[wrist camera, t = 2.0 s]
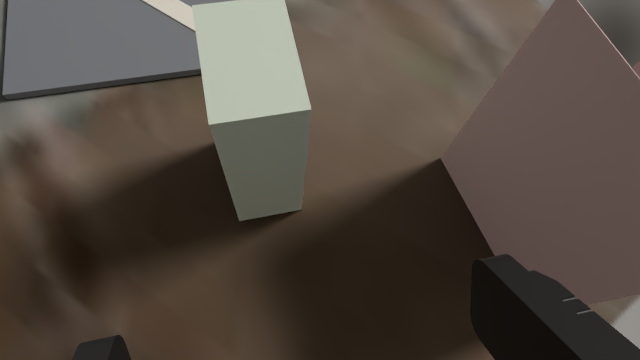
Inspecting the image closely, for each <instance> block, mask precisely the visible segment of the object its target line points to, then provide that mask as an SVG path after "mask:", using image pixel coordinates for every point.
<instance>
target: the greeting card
mask: <svg viewBox="0 0 640 360" xmlns="http://www.w3.org/2000/svg"><path fill="white" fill-rule="evenodd" d="M441 160H442V162H443V164H444V166H445V167H446V169H447V171H448V173H449V175H450V176H451V178H452V180H453V182H454V184H455V185H456V187H457V189H458V191H459V193H460V194H461V196H462V198H463V200H464V201H465V203H466V205H467V207H468V209H469V210H470V212H471V214H472V216H473V218H474V219H475V221H476V223H477V225H478V227H479V228H480V230H481V232H482V234H483V236H484V237H485V239H486V241H487V243H488V245H489V246H490V248H491V250H492V252H493V254H494V255H495V256H497V255H502V254H508V255H510V256H512V257H513V258H514V259H515V260H516V261H518V262H519V263H520V264H521V265H522V266H523V267H524V268H526V269H527V270H528V271H532V270H535V271H537V272H539V273H541V274H544V275H546V276H548V277H550V278H552V279H554V280H556V281H558V282H559V283H560V284H562V285H563V286H564V287H565V288H566V289H568V290H569V291H570V292H571V293H572V294H574V295H575V298H576V299H580V300H581V301H582V302H583V303H584V304H586V305H589V304H593V303H598V302H603V301H607V300H612V299H617V298H621V297H626V296H631V295H635V294H640V61H639V62H638V63H637V64H636V65H635V66H634V67H633V68H631V66H630V65H629V64H628V63H627V61H626V60H625V59H624V58H623V57H622V55H621V54H620V53H619V51H618V50H617V49H616V48H615V46H614V45H613V44H612V43H611V41H610V40H609V39H608V38H607V36H606V35H605V34H604V32H603V31H602V30H601V29H600V27H599V26H598V25H597V24H596V22H595V21H594V20H593V19H592V17H591V16H590V15H589V14H588V12H587V11H586V10H585V9H584V7H583V6H582V5H581V4H580V2H579V1H578V0H555V2H554V3H553V4H552V6H551V7H550V8H549V10H548V11H547V12H546V14H545V15H544V17H543V18H542V19H541V21H540V22H539V23H538V25H537V26H536V27H535V29H534V30H533V32H532V33H531V34H530V36H529V37H528V38H527V40H526V41H525V43H524V44H523V45H522V47H521V48H520V49H519V51H518V52H517V54H516V55H515V56H514V58H513V59H512V60H511V62H510V63H509V65H508V66H507V67H506V69H505V70H504V71H503V73H502V74H501V76H500V77H499V78H498V80H497V81H496V82H495V84H494V85H493V86H492V88H491V89H490V91H489V92H488V93H487V95H486V96H485V97H484V99H483V100H482V102H481V103H480V104H479V106H478V107H477V108H476V110H475V111H474V113H473V114H472V115H471V117H470V118H469V119H468V121H467V122H466V124H465V125H464V126H463V128H462V129H461V130H460V132H459V133H458V135H457V136H456V137H455V139H454V140H453V141H452V143H451V144H450V146H449V147H448V148H447V150H446V151H445V152H444V154H443V155H442V156H441Z"/></svg>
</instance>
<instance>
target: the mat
mask: <svg viewBox="0 0 640 360" xmlns="http://www.w3.org/2000/svg"><path fill="white" fill-rule="evenodd" d="M226 1H235V0H8V10H7V27H6V43H5V60H4V77H3V93H2V95H3V96H4V97H5V98H6V99H7V100H11V99H18V98H26V97H33V96H41V95H48V94H56V93H63V92H71V91H78V90H86V89H93V88H101V87H108V86H116V85H123V84H131V83H138V82H145V81H153V80H160V79H168V78H175V77H183V76H190V75H198V74H202V73H201V66H200V59H199V52H198V45H197V38H196V31H195V24H194V17H193V10H192V5H199V4H208V3H217V2H226Z"/></svg>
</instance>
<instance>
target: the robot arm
mask: <svg viewBox="0 0 640 360" xmlns="http://www.w3.org/2000/svg"><path fill="white" fill-rule="evenodd" d="M470 312H471V320H472V324H473V327H474V330H475V332H476V334H477V336H478V338H479V339H480V341H481V342H482V343H483V345H484V346H485V347H486V348H487V350H488V351H489V352H490V354H491V355H492V356H493V358H494V359H495V360H640V349H639V348H638V347H636V346H635V345H634V344H633V343H632V342H630V341H629V340H628V339H627V338H626V337H624V336H623V335H622V334H621V333H619V332H618V331H617V330H616V329H615V328H613V327H612V326H611V325H610V324H609V323H607V322H606V321H605V320H604V319H603V318H601V317H600V316H599V315H598V314H597V313H595V312H594V311H593V312H591V310H590V308H589V307H588V306H587V305H586V304H584V303H583V302H582V301H581V300H580V299H576V298H575V295H574V294H572V293H571V292H570V291H569V290H568V289H566V288H565V287H564V286H563V285H562V284H560V283H559V282H558V281H556V280H554V279H552V278H550V277H548V276H546V275H544V274H541V273H539V272H537V271H535V270H532V271H528V270H527V269H526V268H524V267H523V266H522V265H521V264H520V263H519V262H518V261H516V260H515V259H514V258H513V257H512V256H510V255H508V254H502V255H497V256H493V257H488V258H483V259H479V260H476V261H474V263H473V266H472V283H471V310H470ZM72 360H131V358H130V355H129V352H128V350H127V347H126V344H125V341H124V339H123V338H122V336H120V335H116V336H111V337H107V338H102V339H97V340H93V341H88V342H83V343H81V344H80V345H79V346H78V348H77V349H76V352H75V354H74V357H73V359H72Z"/></svg>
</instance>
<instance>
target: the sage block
mask: <svg viewBox="0 0 640 360" xmlns="http://www.w3.org/2000/svg"><path fill="white" fill-rule="evenodd" d="M192 10H193V17H194V24H195V31H196V38H197V45H198V52H199V59H200V66H201V73H202V81H203V88H204V95H205V102H206V109H207V116H208V123H209V127H210V130H211V133H212V137H213V140H214V143H215V146H216V149H217V152H218V156H219V159H220V162H221V165H222V168H223V171H224V174H225V178H226V181H227V184H228V187H229V190H230V193H231V197H232V200H233V203H234V206H235V209H236V212H237V216H238V219H239V221H243V220H248V219H254V218H259V217H265V216H270V215H275V214H281V213H286V212H292V211H297V210H302V200H303V190H304V180H305V169H306V159H307V149H308V139H309V128H310V118H311V106H310V102H309V98H308V94H307V90H306V85H305V81H304V77H303V73H302V69H301V65H300V61H299V57H298V53H297V49H296V45H295V41H294V36H293V32H292V28H291V24H290V20H289V16H288V12H287V8H286V4H285V0H235V1H226V2H217V3H208V4H199V5H192Z"/></svg>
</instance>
